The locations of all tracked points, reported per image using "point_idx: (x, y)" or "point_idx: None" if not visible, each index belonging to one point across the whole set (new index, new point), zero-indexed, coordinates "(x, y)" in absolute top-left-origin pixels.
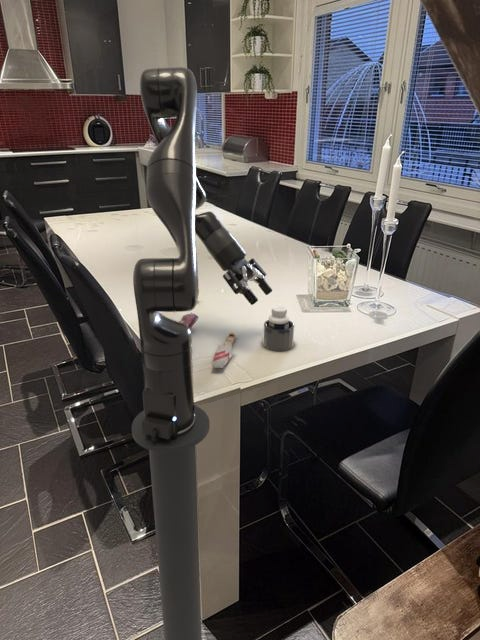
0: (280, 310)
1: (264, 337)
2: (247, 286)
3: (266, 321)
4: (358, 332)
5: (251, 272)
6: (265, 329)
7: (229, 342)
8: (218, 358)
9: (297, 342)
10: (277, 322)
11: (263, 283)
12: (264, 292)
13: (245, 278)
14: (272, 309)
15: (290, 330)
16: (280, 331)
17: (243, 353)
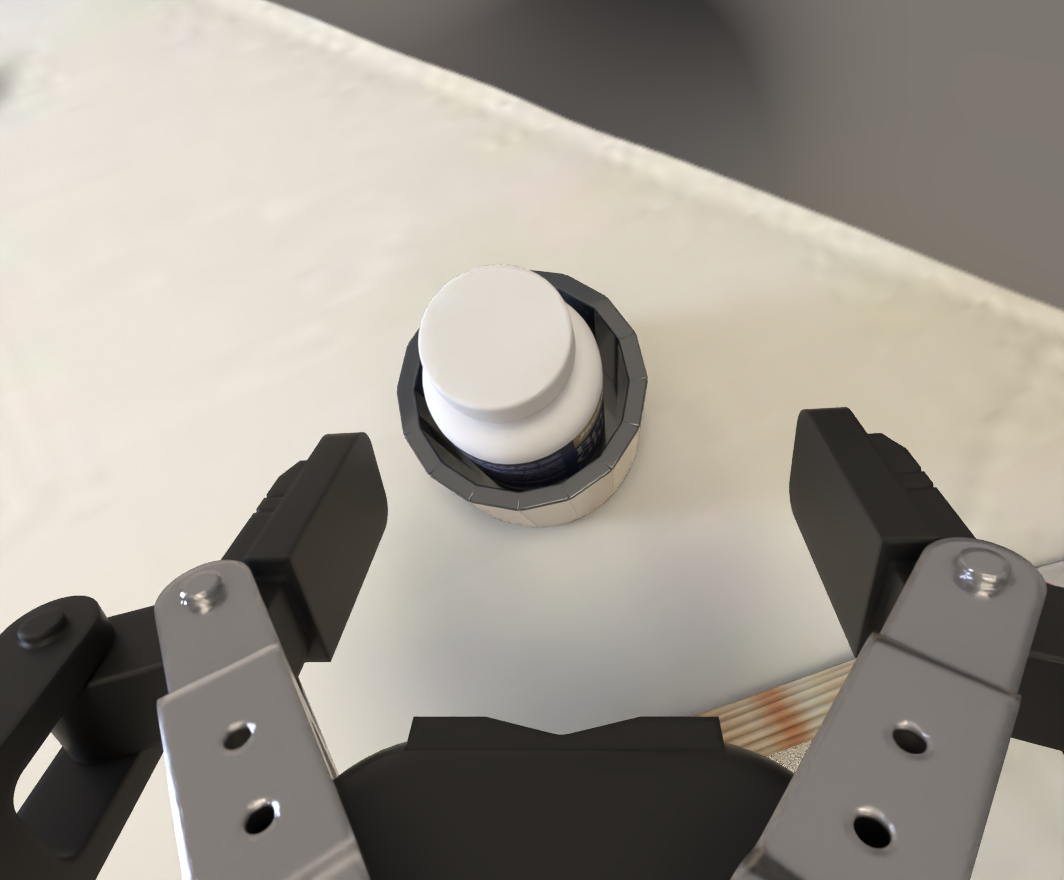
0: (535, 302)
1: (614, 483)
2: (970, 560)
3: (519, 500)
4: (159, 125)
5: (386, 803)
6: (621, 461)
7: (804, 701)
8: None
9: None
10: (595, 343)
11: (317, 553)
12: (376, 540)
13: (965, 691)
14: (553, 380)
15: (555, 277)
16: (626, 321)
17: (787, 566)
